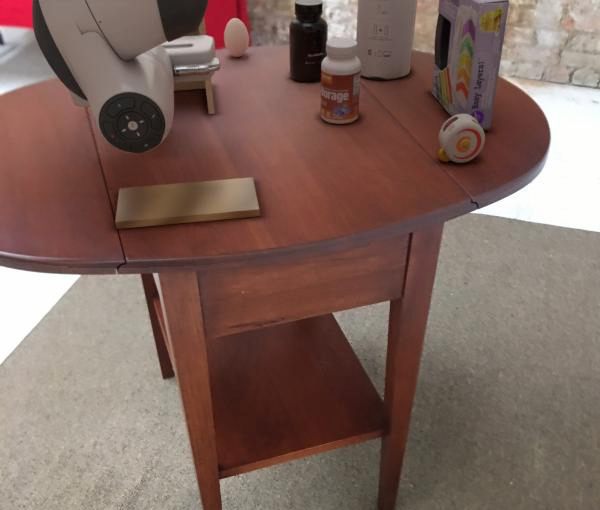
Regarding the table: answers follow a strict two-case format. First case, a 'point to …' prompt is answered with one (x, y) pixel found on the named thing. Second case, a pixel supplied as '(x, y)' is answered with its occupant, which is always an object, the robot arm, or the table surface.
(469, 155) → the roller toy
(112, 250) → the table surface
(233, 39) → the egg
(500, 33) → the cake pan box
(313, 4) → the supplement bottle
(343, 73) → the pill bottle
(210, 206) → the board
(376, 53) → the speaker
